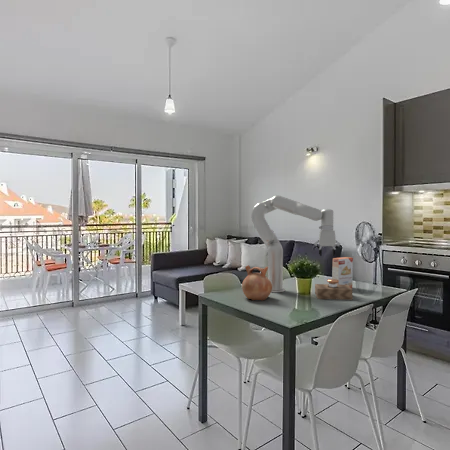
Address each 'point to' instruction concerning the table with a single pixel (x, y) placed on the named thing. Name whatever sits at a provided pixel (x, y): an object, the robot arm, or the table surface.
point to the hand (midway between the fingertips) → (327, 255)
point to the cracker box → (343, 270)
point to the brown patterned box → (333, 292)
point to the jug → (256, 284)
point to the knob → (332, 283)
